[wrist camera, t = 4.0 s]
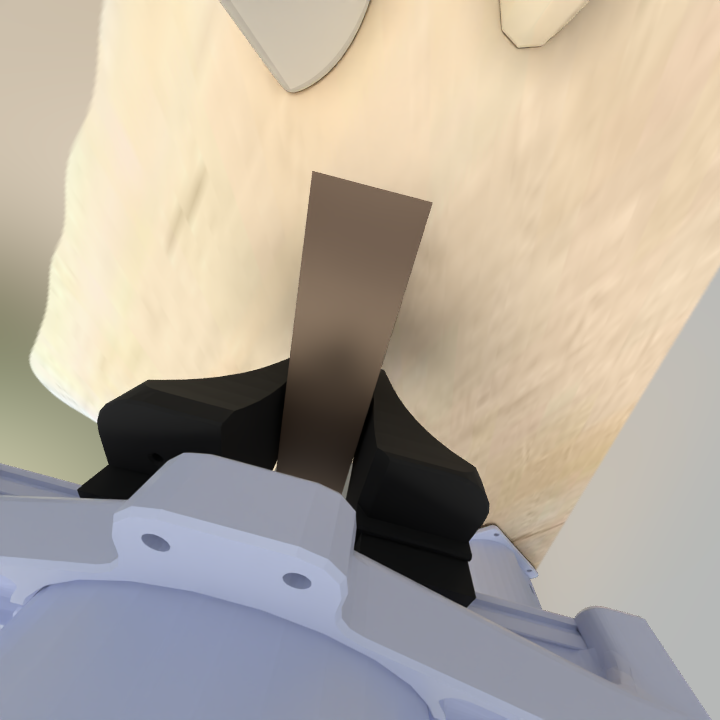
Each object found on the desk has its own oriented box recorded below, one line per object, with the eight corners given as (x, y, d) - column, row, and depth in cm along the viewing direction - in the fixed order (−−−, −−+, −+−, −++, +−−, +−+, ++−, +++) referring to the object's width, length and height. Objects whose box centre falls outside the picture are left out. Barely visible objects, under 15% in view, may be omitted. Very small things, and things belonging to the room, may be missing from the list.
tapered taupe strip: (343, 460, 16) (318, 567, 11) (307, 450, 16) (266, 553, 11) (411, 222, 10) (432, 202, 5) (354, 207, 10) (312, 171, 5)
